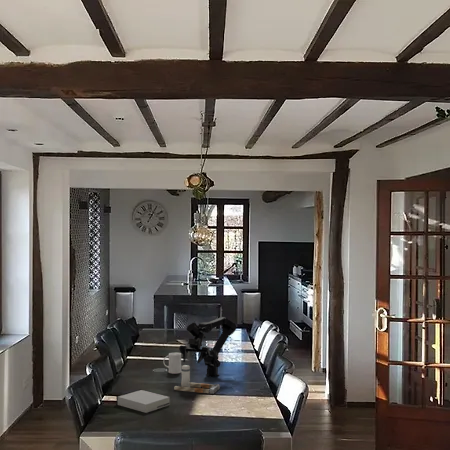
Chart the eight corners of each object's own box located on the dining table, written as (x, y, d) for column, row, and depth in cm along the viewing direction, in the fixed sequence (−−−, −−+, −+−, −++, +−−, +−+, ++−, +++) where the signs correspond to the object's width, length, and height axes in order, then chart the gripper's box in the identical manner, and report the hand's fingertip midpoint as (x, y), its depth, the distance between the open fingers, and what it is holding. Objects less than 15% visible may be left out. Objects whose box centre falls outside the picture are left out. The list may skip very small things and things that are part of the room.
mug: (162, 373, 381) (162, 354, 381) (164, 370, 390) (164, 352, 390) (180, 373, 380) (180, 355, 380) (182, 370, 389) (182, 352, 389)
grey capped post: (186, 386, 350) (186, 364, 350) (191, 388, 346) (191, 366, 346) (179, 388, 347) (179, 366, 347) (184, 389, 343) (184, 367, 343)
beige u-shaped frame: (174, 390, 343) (174, 385, 343) (181, 385, 353) (181, 380, 353) (213, 393, 335) (213, 389, 335) (219, 388, 346) (219, 384, 346)
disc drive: (140, 397, 329) (140, 389, 329) (169, 405, 315) (169, 396, 315) (116, 405, 315) (116, 396, 315) (145, 413, 301) (145, 404, 301)
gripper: (180, 332, 362) (172, 353, 352) (208, 334, 356) (201, 356, 345) (185, 342, 369) (178, 364, 359) (213, 344, 363) (206, 366, 353)
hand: (190, 362), depth 354 cm, fingers open, 9 cm apart
